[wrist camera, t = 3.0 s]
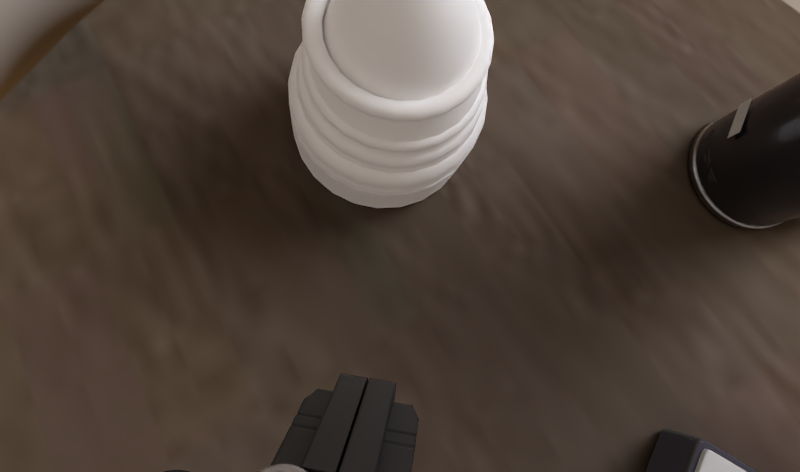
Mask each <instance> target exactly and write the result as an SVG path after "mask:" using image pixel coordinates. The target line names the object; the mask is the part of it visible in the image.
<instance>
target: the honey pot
mask: <svg viewBox="0 0 800 472" xmlns="http://www.w3.org/2000/svg"><path fill="white" fill-rule="evenodd" d="M328 1H329V0H306V2H305V6H304V10H303V14H302V18H301V20H302V38H303V41H302V43H301V44H300V46H299V48H298V49H297V51H296V53H295V56H294V60H293V64H292V68H291V72H290V76H289V80H288V92H289V107H290V114H291V121H292V127H293V134H294V138H295V141H296V144H297V147H298V150H299V153H300V156H301V159H302V160H303V162H304V163H305V164H306V166H307V167H308V169H309V170H310V172H311V173H312V175H313V176H314V178H316V179H317V180H318V181H319V182H320V183H321V184H323V185H324V186H325V187H326V188H327V189H328V190H330V191H331V192H332V193H334V194H336V195H338V196H340V197H342V198H344V199H346V200H348V201H350V202H352V203H354V204H359V205H364V206H368V207H373V208H394V207H403V206H406V205H409V204H412V203H415V202H419V201H422V200H424V199H425V198H427V197H428V196H430V195H431V194H433V193H434V192H436V191H437V190H439V189H440V188H442V186H443V185H444V184H445V183H446V182H447V181H448V179H449V178H450V177H451V176H452V175H453V174H454V173H455V171H456V170H457V169H458V167H459V166H460V165H461V163H462V162H463V161H464V159H465V158H466V157H467V155H468V154H469V152H470V151H471V150H472V148H473V147H474V145H475V143H476V140H477V138H478V136H479V134H480V132H481V130H482V127H483V124H484V119H485V112H486V106H487V99H488V98H487V90H486V85H487V84H486V82H487V75H488V68H489V66H490V64H491V58H492V51H493V44H494V35H493V28H492V20H491V16H490V14H489V12H488V9H487V7H486V4H485V2H484V0H330V1H329V2H328ZM327 2H328V3H327Z"/></svg>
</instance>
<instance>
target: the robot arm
mask: <svg viewBox="0 0 800 472" xmlns="http://www.w3.org/2000/svg"><path fill="white" fill-rule="evenodd" d="M751 100H752V98H750V99H748V100H746V101H745V102H743V103H741V104H740V105H739V107H738V109H736V110H735V111H733V112H731V113H729V114H728V115H726V116H723V117H720V118H718V119H716V120H714V121H713V122H711V123H709V124H707V125H706V126H705V127H703V128H702V129H701V130H700V131H699V133H698V134H697V135H696V137H695V138H694V140H693V142H692V145H691V148H690V152H689V162H688V164H689V173H690V178H691V181H692V184H693V187H694V189H695V191H696V193H697V195H698V197H699V198H700V200H701V201H702V203H703V204H704V205H705V206H706V207H707V209H708V210H709V211H710V212H711V213H713V214H714V215H715V216H716V217H717V218H719V219H720V220H722V221H723V222H725V223H727V224H729V225H731V226H734V227H737V228H740V229H746V230H760V229H765V228H769V227H772V226H775V225H778V224H780V223H782V222H786V221H789V220H793V219H797V218H800V73H799V74H797V75H796V76H794V77H792V78H790V79H789V80H787V81H785V82H783V83H782V84H780V85H778V86H776V87H775V88H773V89H771V90H769V91H768V92H766V93H764V94H762V95H761V96H759V97H757V98H755V99H754V100H752V101H751ZM395 391H396V383H395V382H389V381H383V380H377V379H372V378H370V379H369V381H368V378H365V377H359V376H354V375H348V374H341V375H340V377H339V379H338V381H337V384H336V386H335V388H334V390H333V391H327V390H322V389H317V390H316V391H315V392H313V393H312V394H311V395H309V396H308V397H307V398H305V399H304V401H303V403H302V405H301V407H300V409H299V411H298V414H297V415H296V417H295V419H294V421H293V423H292V426H290V428H289V430H288V432H287V434H286V436H285V438H284V440H283V442H282V444H281V446H280V448H279V450H278V452H277V454H276V456H275V458H274V459H273V461H272V463H271V465H270V466H267V467H265V468H263V469H261V470H259V471H258V472H411V471H412V464H413V456H414V449H415V442H416V435H417V428H418V421H419V419H418V417H417V414H416V412H415V410H414V408H413V405H407V404H401V403H396V402H394V399H395ZM165 472H189V471H185V470H170V471H165Z"/></svg>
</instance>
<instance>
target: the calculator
mask: <svg viewBox="0 0 800 472" xmlns="http://www.w3.org/2000/svg"><path fill="white" fill-rule="evenodd" d="M646 472H758V471H756V470H754V469H753V468H751V467H749V466H748V465H746V464H744V463H743V462H741V461H739V460H738V459H736V458H734V457H733V456H731V455H729V454H728V453H726V452H724V451H722V450H721V449H719V448H717V447H716V446H714V445H712V444H711V443H709V442H707V441H706V440H703V439H701V438H697V437H693V436H690V435H686V434H682V433H679V432H675V431H671V430H667V429H665V430H662V431H661V433H660V435H659V438H658V440H657V443H656V446H655V448H654V451H653V454H652V456H651V459H650V461H649V464H648V467H647V469H646Z"/></svg>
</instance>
